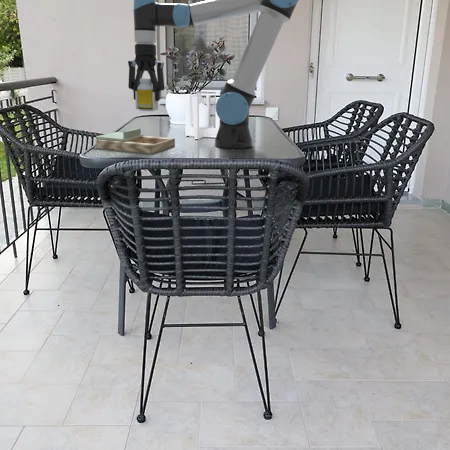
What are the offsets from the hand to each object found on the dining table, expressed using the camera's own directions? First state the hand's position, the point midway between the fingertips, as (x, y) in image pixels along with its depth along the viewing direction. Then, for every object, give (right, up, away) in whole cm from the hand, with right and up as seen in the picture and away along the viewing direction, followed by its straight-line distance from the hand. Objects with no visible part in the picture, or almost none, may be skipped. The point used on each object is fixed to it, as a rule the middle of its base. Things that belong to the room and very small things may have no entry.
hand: (146, 109), depth 179 cm
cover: (-12, -9, +8) cm, 17 cm away
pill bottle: (0, -1, 0) cm, 1 cm away
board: (-5, -13, +6) cm, 15 cm away
